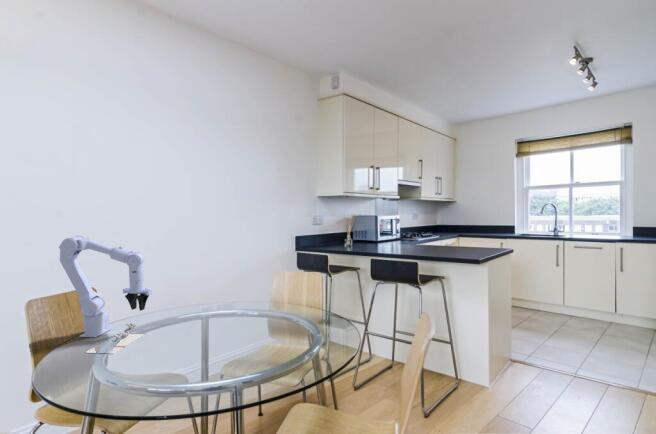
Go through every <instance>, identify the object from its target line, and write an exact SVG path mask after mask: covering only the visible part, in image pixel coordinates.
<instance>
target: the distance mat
mask: <svg viewBox="0 0 656 434" xmlns="http://www.w3.org/2000/svg"><path fill="white" fill-rule="evenodd" d="M146 333H147V332H129V334H128V336H127V337H125V338H122V340H120V342H119V343H118V344H117V345H116V346H115V347H114V349H113V351H112V352H111V354H110V355H114V354H117V353H118V352H119V351H121V350H122V349H124V348H126V347H127V346H128V345H130V344H132V343H134V342H135V341H136V340H139V338H141V337H143V336H145V335H146ZM84 353H85V354H97V353H96V351H95V348H94V347H93V348H90V349H88V350H87V351H85V352H84Z"/></svg>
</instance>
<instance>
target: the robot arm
mask: <svg viewBox="0 0 656 434" xmlns="http://www.w3.org/2000/svg"><path fill="white" fill-rule="evenodd" d="M58 249H59V250H60V251H59V263H60V265H62V267H63V268H62V269H64V271H65V273H66V275H67V277H68V279H69V281H70V282H71V284H72V286H73V287H74V289H75V291H76V293H77V295H78V296H79V298H78V299H79V300H78V304H79V307H80V313H81V314H82V315H83V331H84V333H82V334H80V335H79V338H97V337H99V336H101V335H103V334H106V333H107V332H109V331H110V330H112V328H111V327H110V316H109V313H108V312H107V311H106V310H103V308H104V307H105V300H104V298H103V297H101V296H100V295H99V294H98V292H96V291H94V289H93V287H92V286H91V284H90V282H89V281H88V279H87V277H86V274H85V273H84V271H83V270H82V268H81V266H80V264H79V262H78V260H77V259H78V256H79V254H80V253H81V252H82V251H85V250H92V251H95V252H99V253H102V254H105V255H108V256H109V257H110V259H112V260H114V261H117V262H120V263H123V264H126V265H127V266H128V279H129V287H125V288H122V294H125V295H124V298H125V299H126V300H127V301H128V304H129V306H130V308H131V311H132V310H136V309H137V307H138V309H139V310H138V311H141V312H142V311H145V309H146V304H147V301H148V298H149V297H150V295H152V294H153V290H152V289H147V288H145V280H144V279H145V275H144V261H145V256H144V255H143V254H142V253H141V252H140V251H139V252H136V251H134V250H128V249H125V248H124V247H123V246H122V245H121V246H114V247H112V246H109V245H107V244H104V243H103V242H98V241H96V240H94V239H92V238H89V237H86V236H85V237H84V236H83V235H76V236H74V237H73V236H72V237H67V238H64V239H63V240H62V241H61V243H60V245H59V247H58ZM137 302H138V303H137ZM137 305H138V306H137Z"/></svg>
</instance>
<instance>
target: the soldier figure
mask: <svg viewBox="0 0 656 434" xmlns="http://www.w3.org/2000/svg"><path fill="white" fill-rule="evenodd" d="M124 325H125V326H126V327H127V328H125V330H124V331H122V332H121V333H120V332H119V333H120V334H119V333H116V335H118V336H115V335H114V336H115V338H116V339H115V340H113V339H112V342H117V340H118V339H120V338H125V337H127V336H128V334H129V333H131V332H132V330H134V329H135V327H137V325H136V324H135V323H125V324H124Z"/></svg>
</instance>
